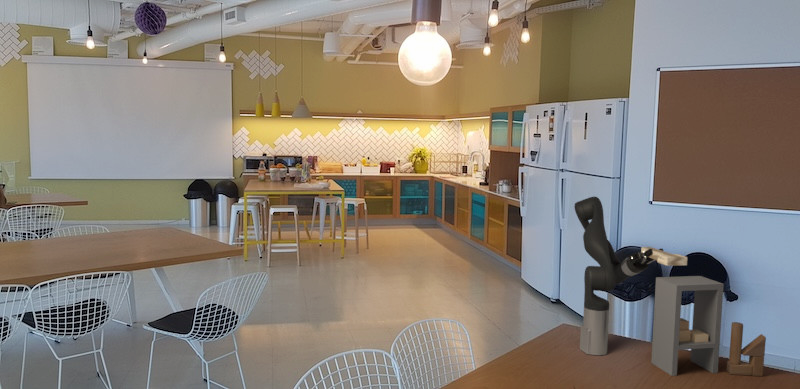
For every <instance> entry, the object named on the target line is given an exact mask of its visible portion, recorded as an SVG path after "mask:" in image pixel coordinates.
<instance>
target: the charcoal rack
mask: <svg viewBox="0 0 800 389" xmlns="http://www.w3.org/2000/svg"><path fill="white" fill-rule="evenodd" d="M724 286H725V285H724V283H722V282H719V281H717V280H713V279H710V278H707V277H704V276H703V275H688V276H687V275H686V276H661V277H660V276H659V277H658V276H657V277H655V287H654V288H655V289H654V290H655V291H654V294H655V295H654V307H653V310H654V311H653V328H652V344H651V362H650V363H651V364H652V365H654V366H656V367H657V368H659V369H660V370H662V372H665V373H666V374H667V375H670V376H671V377H673V376H674V377H675V376H676V377H677V376H678V375H677V374H678V361H679V360H678V359H679V351H680V350H681V351H682V350H683V351H684V350H690V362H692V363H693V364H696V365H697V366H699V367H701V368H702V369H704V370H706V371H708V372H710V373H711V374H718V373H719V357H720V346H721V345H720V344H721V341H720V340H721V331H722V330H721V328H722V317H723V316H722V312H723V303H724V302H723V300H724ZM693 291H694V298H693V312H692V313H693V316H692V329H689V328H690V321H689V320H687V319H685V318H683V317H681V315H682V314H681V313H682V296H683V295H682V294H683V292H693Z"/></svg>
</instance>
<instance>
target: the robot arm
mask: <svg viewBox="0 0 800 389" xmlns="http://www.w3.org/2000/svg"><path fill="white" fill-rule="evenodd" d="M574 210H575V214H576V216H577V219H578V220H579V222H580V224H581V226H582V228H583V230H584V232H583V235H582V239H583V240H582V241H583V247H584V251H585V252H586V253H587V254H588V255H589V256H590V257H591V258H592V259H593V260H594V261H595V262H596V263H597V264H598V265H599V266H598V265H597V266H596V265H587V266H586V267H585V270H584V278H583V279H584V280H583V281H584V295H583V296H584V298H583V299H584V300H583V320H582V321H583V324H582V325H580V337H579V339H580V340H579V349H580V351H582V352H583V353H585V354H586V355H592V356H605V355H607V354H608V343H609V342H608V341H609V340H608V339H609V323H610V321H609V319H610V301H608V300H607V299H605V298H603V297H601V296H599V295H596V294H595V293H594V292H596V291H600V292H611V291H613V290H614V288H615V286H617V285H619V284H620V283H623V282H625V281H627V279H630V278H632V277H633V276H635V275H638V274H640V273H641V272H643V271H645V270H647V269H648V268H649V264H652V263H653V262H655V261H656V262H657V260H655V259H652V258H649V256H650V255H652V254H653V251H652V249H649V250H647V251H643V252H641V251H638V252H634V253H633V254H630V255H628V256H627V257H626V258H625V259H624V260H623V261H620V259H619V258H618V256H617V255H616V252H615V249H614V248H613V245H612V243H611V241H609V239H608V235H607V232H606V227H605V220H604V219H605V216H604V208H603V204H602V201H601V200H600V198H599V197H598V196H590V197H587V198H584V199H581V200H580V201H579V200H578V201H577V202H575V203H574ZM658 250H661V251H664V249H663V248H658Z"/></svg>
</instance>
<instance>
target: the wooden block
mask: <svg viewBox="0 0 800 389" xmlns="http://www.w3.org/2000/svg"><path fill="white" fill-rule="evenodd" d="M730 328H731V329H730V341H729V355H728V360H727V361H726V372H727V373H729V374H730V375H737V376H740V375H741V376H750V375H751V377H752V376H753V377H763V376H764V365H765V355H766V354H765V351H766V340H767V337H766V336H765V335H763V334H759V335H758V336H756V338H754V339H753V340H752V341H750V343H748V344H746V345H745V346H744V347H743V337H744V336H743V335H744V323H742V322H738V321H733V322H731V327H730ZM742 347H743V348H742ZM742 356H743V357H744V356H746V357H748V363H747V362H744V361H742Z"/></svg>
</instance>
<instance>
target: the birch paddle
mask: <svg viewBox="0 0 800 389" xmlns="http://www.w3.org/2000/svg"><path fill="white" fill-rule="evenodd" d="M649 249H652V251H653V254H652V255H650V256H649V258H652V259H655V261H656V260H657V261H656V262H657V263H658V264H661V265H664V266H667V267H668V266H669V267H671V266H672V267H673V266H674V267H675V266H676V267H677V266H688V256H685V255H681V254H680V253H679V254H678V253H671V252H667V251H664V250H663V251H661V250H659V248H655V247H653V246H652V247H651V246H643V247H641V251H640V252H643V251H647V250H649Z"/></svg>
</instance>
